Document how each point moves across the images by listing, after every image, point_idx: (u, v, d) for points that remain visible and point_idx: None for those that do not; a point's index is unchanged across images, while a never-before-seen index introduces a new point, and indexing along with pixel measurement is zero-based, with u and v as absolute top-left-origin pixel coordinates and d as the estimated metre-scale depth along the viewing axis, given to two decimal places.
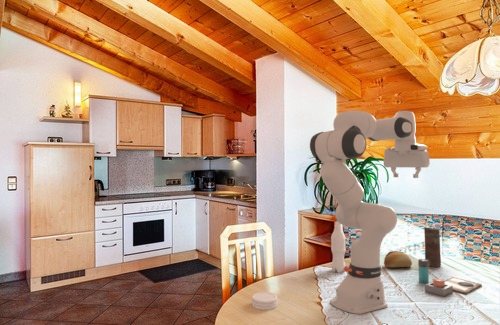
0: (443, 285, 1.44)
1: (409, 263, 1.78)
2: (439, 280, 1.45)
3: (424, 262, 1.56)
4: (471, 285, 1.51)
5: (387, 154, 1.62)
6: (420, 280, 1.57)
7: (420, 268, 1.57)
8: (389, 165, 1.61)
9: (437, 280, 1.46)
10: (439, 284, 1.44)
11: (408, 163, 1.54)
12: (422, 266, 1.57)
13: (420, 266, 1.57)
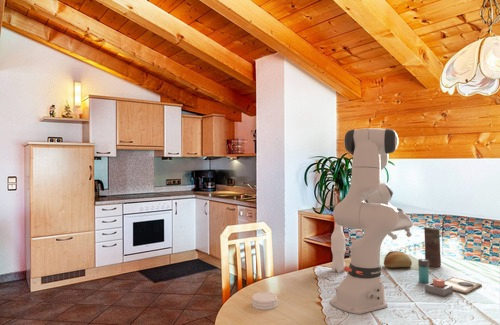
0: (443, 285, 1.44)
1: (409, 263, 1.78)
2: (439, 280, 1.45)
3: (424, 262, 1.56)
4: (471, 285, 1.51)
5: None
6: (420, 280, 1.57)
7: (420, 268, 1.57)
8: None
9: (437, 280, 1.46)
10: (439, 284, 1.44)
11: (400, 223, 1.73)
12: (422, 266, 1.57)
13: (420, 266, 1.57)
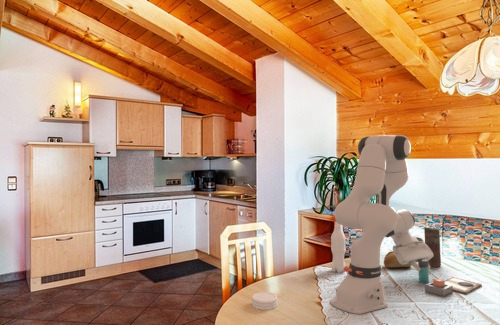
0: (443, 285, 1.44)
1: None
2: (439, 280, 1.45)
3: (424, 262, 1.56)
4: (471, 285, 1.51)
5: (401, 249, 1.60)
6: (420, 280, 1.57)
7: None
8: (409, 258, 1.57)
9: (437, 280, 1.46)
10: (439, 284, 1.44)
11: (421, 254, 1.62)
12: (422, 266, 1.57)
13: None
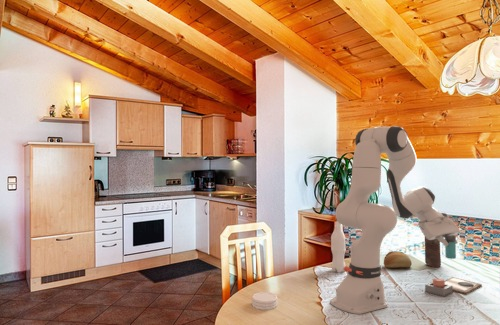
0: (443, 285, 1.44)
1: (409, 263, 1.78)
2: (439, 280, 1.45)
3: (451, 237, 1.53)
4: (471, 285, 1.51)
5: (427, 224, 1.56)
6: (447, 255, 1.54)
7: None
8: (436, 233, 1.53)
9: (437, 280, 1.46)
10: (439, 284, 1.44)
11: (448, 229, 1.58)
12: (449, 241, 1.53)
13: None
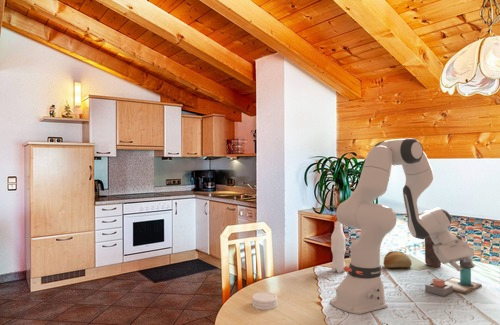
0: (443, 285, 1.44)
1: (409, 263, 1.78)
2: (439, 280, 1.45)
3: (466, 263, 1.50)
4: (471, 285, 1.51)
5: (442, 248, 1.54)
6: (462, 282, 1.51)
7: (462, 270, 1.51)
8: (451, 257, 1.51)
9: (437, 280, 1.46)
10: (439, 284, 1.44)
11: (462, 252, 1.56)
12: (464, 267, 1.51)
13: None
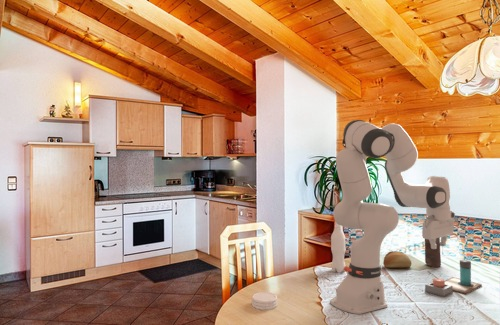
0: (443, 285, 1.44)
1: (409, 263, 1.78)
2: (439, 280, 1.45)
3: (466, 263, 1.50)
4: (471, 285, 1.51)
5: (433, 224, 1.40)
6: (462, 282, 1.52)
7: (462, 270, 1.51)
8: (434, 237, 1.40)
9: (437, 280, 1.46)
10: (439, 284, 1.44)
11: (445, 231, 1.46)
12: (464, 267, 1.51)
13: (462, 268, 1.52)
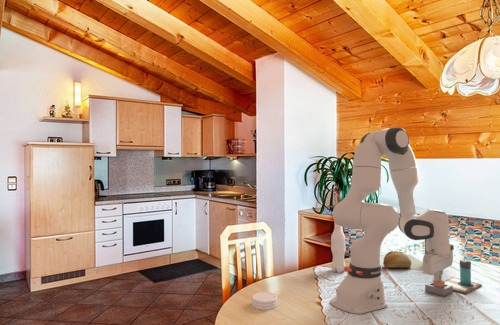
0: (443, 286, 1.44)
1: (408, 263, 1.77)
2: (439, 281, 1.45)
3: (466, 263, 1.50)
4: (471, 285, 1.51)
5: (433, 259, 1.41)
6: (462, 282, 1.52)
7: (462, 270, 1.51)
8: (434, 271, 1.41)
9: (437, 281, 1.46)
10: (439, 285, 1.44)
11: (444, 264, 1.47)
12: (464, 267, 1.51)
13: (462, 268, 1.52)
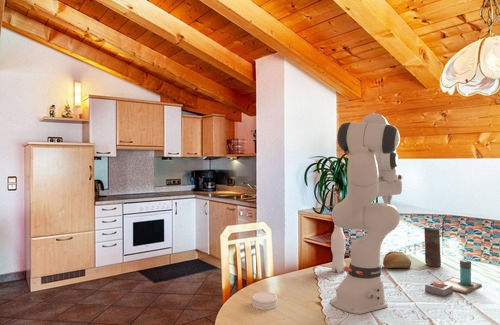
0: None
1: (408, 264, 1.77)
2: (439, 283, 1.45)
3: (467, 263, 1.50)
4: (471, 285, 1.51)
5: (381, 184, 1.63)
6: (462, 282, 1.52)
7: (462, 270, 1.51)
8: (382, 194, 1.64)
9: (437, 283, 1.46)
10: None
11: (393, 191, 1.69)
12: (464, 267, 1.51)
13: (462, 268, 1.51)
